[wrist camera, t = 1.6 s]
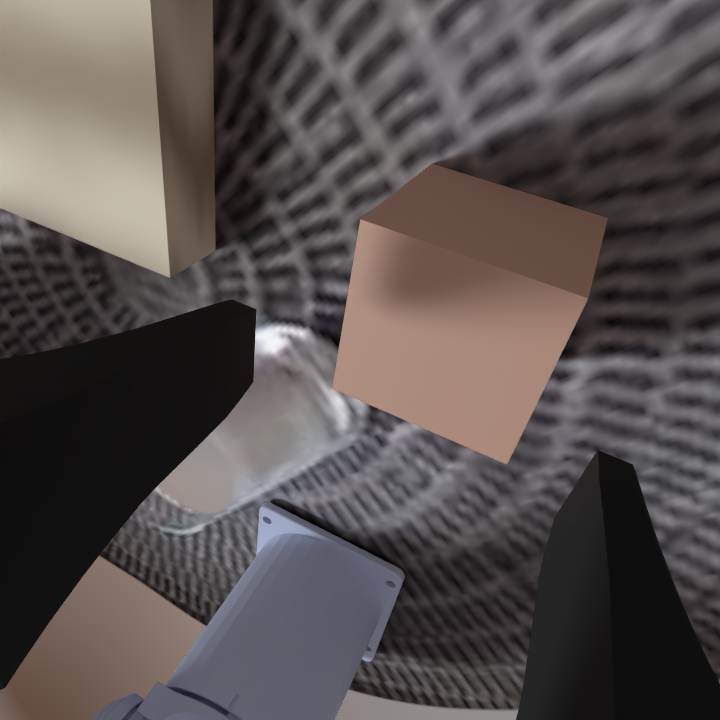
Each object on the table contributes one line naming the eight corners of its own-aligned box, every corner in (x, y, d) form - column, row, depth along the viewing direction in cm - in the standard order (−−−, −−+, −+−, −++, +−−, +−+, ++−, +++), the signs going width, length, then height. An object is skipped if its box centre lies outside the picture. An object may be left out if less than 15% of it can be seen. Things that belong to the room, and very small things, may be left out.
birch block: (222, 246, 21) (170, 277, 19) (28, 172, 24) (-39, 192, 21) (221, -82, 15) (143, -93, 13) (-42, -138, 17) (-147, -155, 15)
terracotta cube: (540, 362, 18) (507, 464, 14) (398, 307, 19) (332, 388, 15) (608, 216, 14) (588, 298, 11) (433, 163, 16) (360, 219, 12)
